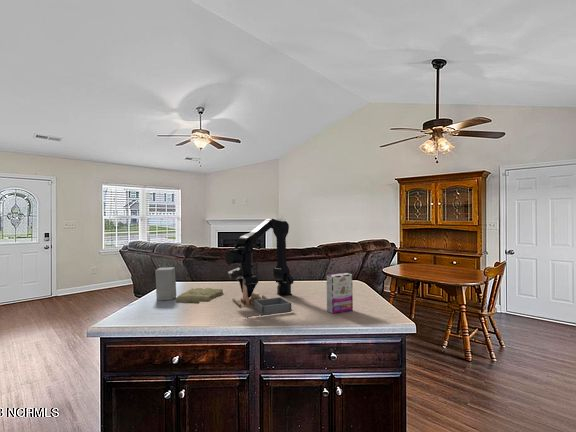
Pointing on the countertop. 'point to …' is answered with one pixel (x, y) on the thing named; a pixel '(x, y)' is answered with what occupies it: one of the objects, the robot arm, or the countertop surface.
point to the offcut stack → (255, 297)
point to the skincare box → (165, 283)
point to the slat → (245, 295)
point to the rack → (243, 303)
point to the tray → (272, 305)
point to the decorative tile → (199, 295)
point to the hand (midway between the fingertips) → (246, 295)
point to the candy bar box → (339, 293)
